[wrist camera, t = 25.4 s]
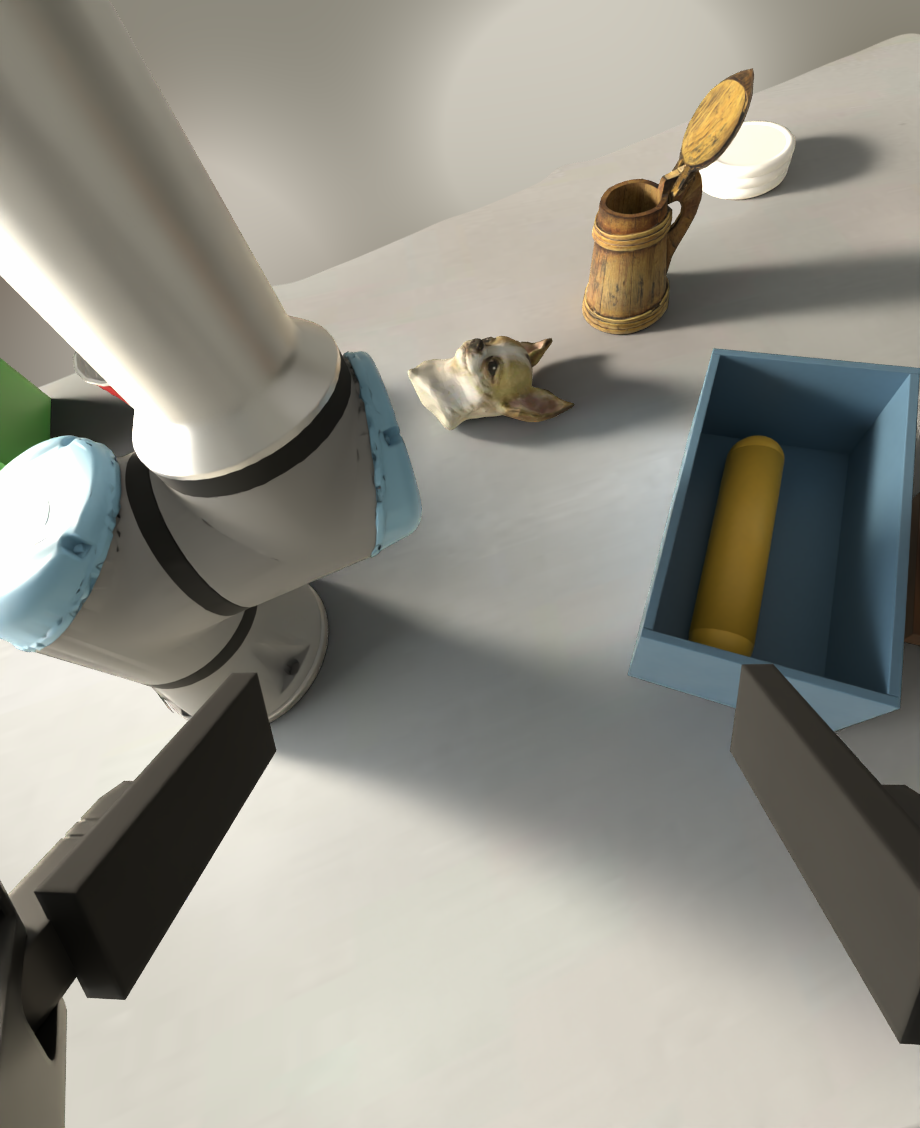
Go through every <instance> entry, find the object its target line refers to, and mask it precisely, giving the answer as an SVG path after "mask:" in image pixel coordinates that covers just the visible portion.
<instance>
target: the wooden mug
mask: <svg viewBox="0 0 920 1128" xmlns="http://www.w3.org/2000/svg"><path fill="white" fill-rule="evenodd" d="M753 80H754V72H753V69H748V70H744V71H740V72H739V73H736V74H734V75H732V76H730V77H728V78H726V79H725V80H723V81H722V82H720V83H719V84H718V85H717V86H715V87H714V88H713V89H712V90H711V91H710V92H709V93H708V94H707V96H706V97H705V98H704V99H703V101H702V102H701V103H700V105H699V107H698V108H697V110H696V112H695V113H694V115H693V117H692V119H691V120H690V122H689V124H688V127H687V129H686V132H685V135H684V139H683V143H682V148H681V152H680V157H679V161H678V162H677V164H676V166H675V167H674V169H673V170H672V172H670V173H668V174H666V175H664V176H663V177H662V178H661V180H660V183H659V184H657V183H655V182H652V181H649V180H645V179H633V180H628V181H624V182H622V183H619V184H616V185H614V186H612V187H611V188H609V189H608V190H607V191H606V192H605V193H604V195H603V196H602V198H601V201H600V205H599V211H598V213H597V215H596V218H595V222H594V227H593V231H592V236H593V239H594V241H595V242H594V250H593V256H592V263H591V270H590V277H589V283H588V285H587V287H586V290H585V295H584V300H583V306H582V310H583V316H584V317H585V319H586V321H587V322H588V323H589V324H590V325H591V326H592V327H594V328H596V329H598V330H600V331H603V332H607V333H611V334H628V333H634V332H636V331H639V330H642V329H645V328H646V327H648V326H650V325H651V324H653V323H654V322H656V321H657V320H658V319H660V318H661V317H662V315H663V314H664V312H665V311H666V310H667V307H668V301H669V280H668V278H667V277H666V275H667V271H668V268H669V265H670V261H671V258H672V256H673V254H674V252H675V250H676V248H677V246H678V245H679V243H680V241H681V240H682V238H683V236H684V235H685V233H686V231H687V230H688V228H689V226H690V224H691V222H692V221H693V219H694V217H695V215H696V212H697V210H698V207H699V204H700V201H701V197H702V189H703V184H702V176H701V174H700V172H699V171H700V170H702V169H704V168H707V167H708V166H710V165H711V164H712V163H714V162H715V161H717V159H718V158H719V157H720V156H721V155H722V154H723V153H724V152H725V150H726V149H727V148H728V147H729V145H730V144H731V142H732V141H733V140H734V138H735V136H736V135H737V133H738V131H739V130H740V128H741V126H742V124H743V121H744V119H745V117H746V114H747V111H748V109H749V106H750V102H751V99H752V94H753ZM675 201H679V202H680V204H681V212H680V214H679V215H678V217H677V219H676V220H675V222H674V223H673V224H672V225H671V221H672V209H671V208H670V207H669V206H668V204H670V203H672V202H675Z"/></svg>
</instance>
